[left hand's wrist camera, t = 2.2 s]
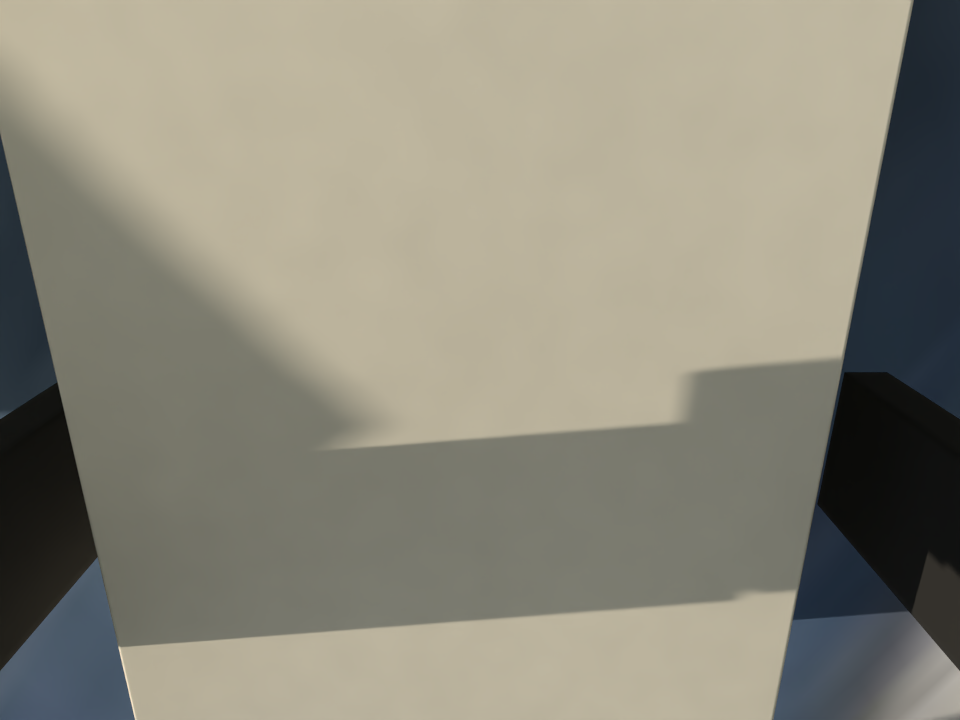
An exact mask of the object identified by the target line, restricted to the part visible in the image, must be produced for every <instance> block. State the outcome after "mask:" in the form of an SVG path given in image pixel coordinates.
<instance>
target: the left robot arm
mask: <svg viewBox="0 0 960 720" xmlns="http://www.w3.org/2000/svg"><path fill="white" fill-rule="evenodd" d="M818 505H819V507H820V508H821V509H822V510H823V511H824V512H825V514H826V515H827V516H828V517H829V518H830V520H831V521H832V522H833V523H834V524H835V525H836V527H837V528H838V529H839V530H840V531H841V532H842V534H843V535H844V536H845V537H846V538H847V539H848V541H849V542H850V543H851V544H852V545H853V546H854V548H855V549H856V550H857V551H858V552H859V553H860V555H861V556H862V557H863V558H864V559H865V560H866V562H867V563H868V564H869V565H870V566H871V567H872V569H873V570H874V571H875V572H876V573H877V574H878V576H879V577H880V578H881V579H882V580H883V582H884V583H885V584H886V585H887V586H888V587H889V589H890V590H891V591H892V592H893V593H894V594H895V596H896V597H897V598H898V599H899V600H900V601H901V603H902V604H903V605H904V606H905V607H906V608H907V610H908V611H909V612H910V613H911V614H912V615H913V617H914V618H915V619H916V620H917V621H918V622H919V624H920V625H921V626H922V627H923V628H924V629H925V631H926V632H927V633H928V634H929V635H930V636H931V638H932V639H933V640H934V641H935V642H936V643H937V645H938V646H939V647H940V648H941V649H942V651H943V652H944V653H945V654H946V655H947V656H948V658H949V659H950V660H951V661H952V662H953V663H954V665H955V666H956V667H957V668H958V669H959V670H960V419H958V418H957V417H955V416H954V415H952V414H951V413H949V412H948V411H946V410H945V409H943V408H941V407H940V406H938V405H937V404H935V403H934V402H932V401H931V400H929V399H927V398H926V397H924V396H923V395H921V394H920V393H918V392H917V391H915V390H914V389H912V388H910V387H909V386H907V385H906V384H904V383H903V382H901V381H900V380H898V379H897V378H895V377H893V376H892V375H890V374H889V373H887V372H845V373H844V378H843V382H842V387H841V392H840V397H839V402H838V407H837V412H836V417H835V421H834V426H833V431H832V436H831V441H830V446H829V451H828V456H827V460H826V465H825V470H824V475H823V480H822V485H821V490H820V495H819V499H818ZM97 557H98V556H97V551H96V547H95V543H94V538H93V534H92V530H91V525H90V521H89V516H88V512H87V508H86V503H85V499H84V495H83V490H82V486H81V482H80V477H79V473H78V469H77V464H76V460H75V456H74V451H73V447H72V443H71V438H70V434H69V430H68V425H67V421H66V417H65V412H64V408H63V404H62V399H61V395H60V391H59V386H58V382H57V383H56V384H54V385H53V386H51V387H50V388H48V389H46V390H45V391H43V392H42V393H40V394H39V395H37V396H36V397H34V398H33V399H31V400H29V401H28V402H26V403H25V404H23V405H22V406H20V407H19V408H17V409H15V410H14V411H12V412H11V413H9V414H8V415H6V416H5V417H3V418H2V419H0V670H1V669H2V668H3V667H4V666H5V665H6V663H7V662H8V661H9V660H10V659H11V658H12V656H13V655H14V654H15V653H16V652H17V651H18V649H19V648H20V647H21V646H22V645H23V643H24V642H25V641H26V640H27V639H28V638H29V636H30V635H31V634H32V633H33V632H34V631H35V629H36V628H37V627H38V626H39V625H40V624H41V622H42V621H43V620H44V619H45V618H46V617H47V615H48V614H49V613H50V612H51V611H52V610H53V608H54V607H55V606H56V605H57V604H58V603H59V601H60V600H61V599H62V598H63V597H64V596H65V594H66V593H67V592H68V591H69V590H70V589H71V587H72V586H73V585H74V584H75V583H76V582H77V580H78V579H79V578H80V577H81V576H82V574H83V573H84V572H85V571H86V570H87V569H88V567H89V566H90V565H91V564H92V563H93V562H94V560H95V559H96V558H97Z"/></svg>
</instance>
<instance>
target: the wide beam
mask: <svg viewBox="0 0 960 720" xmlns="http://www.w3.org/2000/svg"><path fill="white" fill-rule="evenodd" d="M913 1H914V0H0V134H1V139H2V143H3V147H4V152H5V156H6V160H7V165H8V169H9V173H10V178H11V182H12V186H13V191H14V195H15V199H16V204H17V208H18V212H19V217H20V221H21V225H22V230H23V234H24V238H25V243H26V247H27V252H28V256H29V260H30V265H31V269H32V273H33V278H34V282H35V286H36V291H37V295H38V299H39V304H40V308H41V312H42V317H43V321H44V325H45V330H46V334H47V338H48V343H49V347H50V351H51V356H52V360H53V364H54V369H55V373H56V377H57V382H58V386H59V391H60V395H61V399H62V404H63V408H64V412H65V417H66V421H67V425H68V430H69V434H70V438H71V443H72V447H73V451H74V456H75V460H76V464H77V469H78V473H79V477H80V482H81V486H82V490H83V495H84V499H85V503H86V508H87V512H88V516H89V521H90V525H91V530H92V534H93V538H94V543H95V547H96V551H97V556H98V560H99V564H100V569H101V573H102V577H103V582H104V586H105V590H106V595H107V599H108V603H109V608H110V612H111V616H112V621H113V625H114V629H115V634H116V638H117V642H118V647H119V651H120V655H121V660H122V664H123V669H124V673H125V677H126V682H127V686H128V690H129V695H130V699H131V703H132V708H133V712H134V716H135V720H773V718H774V712H775V707H776V702H777V697H778V692H779V687H780V682H781V677H782V672H783V666H784V661H785V656H786V651H787V646H788V641H789V636H790V631H791V625H792V620H793V615H794V610H795V605H796V600H797V595H798V590H799V585H800V579H801V574H802V569H803V564H804V559H805V554H806V549H807V544H808V539H809V533H810V528H811V523H812V518H813V513H814V508H815V503H816V498H817V492H818V487H819V482H820V477H821V472H822V467H823V462H824V457H825V452H826V446H827V441H828V436H829V431H830V426H831V421H832V416H833V411H834V406H835V400H836V395H837V390H838V385H839V380H840V375H841V370H842V365H843V360H844V354H845V349H846V344H847V339H848V334H849V329H850V324H851V319H852V313H853V308H854V303H855V298H856V293H857V288H858V283H859V278H860V273H861V267H862V262H863V257H864V252H865V247H866V242H867V237H868V232H869V227H870V221H871V216H872V211H873V206H874V201H875V196H876V191H877V186H878V180H879V175H880V170H881V165H882V160H883V155H884V150H885V145H886V140H887V134H888V129H889V124H890V119H891V114H892V109H893V104H894V99H895V94H896V88H897V83H898V78H899V73H900V68H901V63H902V58H903V53H904V47H905V42H906V37H907V32H908V27H909V22H910V17H911V12H912V7H913Z"/></svg>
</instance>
